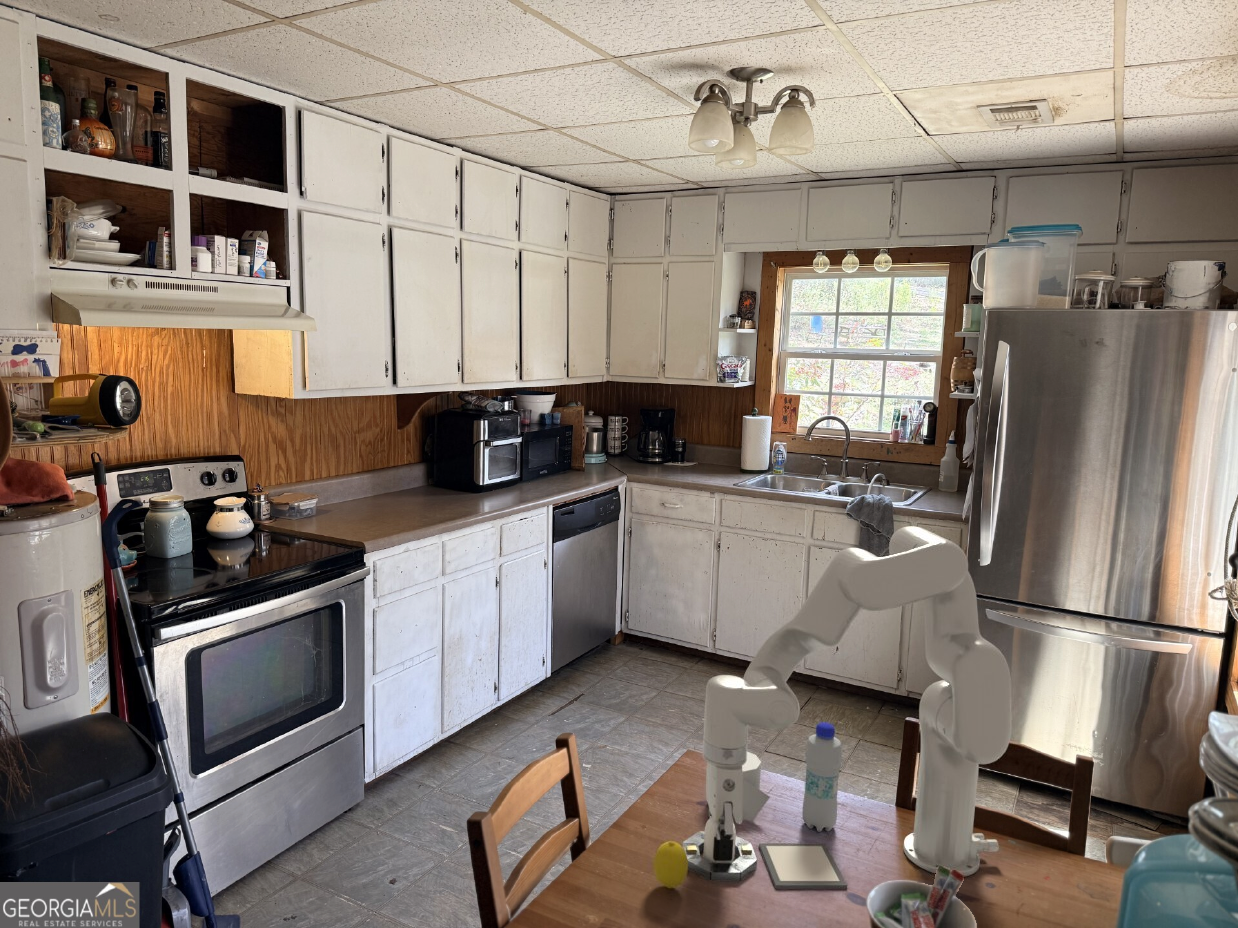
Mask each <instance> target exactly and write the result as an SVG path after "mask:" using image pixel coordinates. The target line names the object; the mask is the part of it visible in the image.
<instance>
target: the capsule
mask: <svg viewBox="0 0 1238 928" xmlns="http://www.w3.org/2000/svg"><path fill="white" fill-rule="evenodd" d="M719 819H724V817H722V816H721V818H719ZM722 829H724V824H720V831H721V830H722ZM704 831H705V834H704V851H703V855H702V857H703V858H705V859H707V860H709V861H711V862H713V863H732V862H734V861H735V855H736V854H735V839H736V836H737V831H736V826H735V824H734V822H733V854H732V860H731V861H715V860H714V859H713V848H714V837H716V822H714V820H713V818H712V817H710V819H709V820H708V819H707V821H706V823H705V827H704Z"/></svg>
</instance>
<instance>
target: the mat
mask: <svg viewBox="0 0 1238 928" xmlns="http://www.w3.org/2000/svg"><path fill="white" fill-rule="evenodd" d="M758 848H759V849H760V853H761V855H762V858H763V860H764V863H765V865H766V868H767V870H768V872H769V875H770V878H771V881H772V882H773V883H772V884H773V886H774V888H775V889H776V890H778V889H780V890H781V889H783V890H785V889H786V890H788V889H789V890H790V889H794V890H796V889H797V890H800V889H801V890H802V889H803V890H804V889H805V890H809V889H812V890H814V889H817V890H819V889H821V890H822V889H823V890H824V889H826V890H828V889H829V890H830V889H833V890H835V889H840V890H842V889H845V890H846V889H848V884H847V882H846V880H845V878H844V876H843V874H842V872H841V871H840V868H839V867H838V865H837V863H836V861H835V859H834V857H833V856H832V853H831V851H830V850H829V848H828V846H827V844H826V843H806V842H805V843H804V842H803V843H799V842H798V843H794V842H793V843H792V842H791V843H790V842H789V843H788V842H787V843H785V842H784V843H781V842H779V843H778V842H777V843H774V842H773V843H771V842H770V843H767V842H766V843H763V842H759V843H758Z"/></svg>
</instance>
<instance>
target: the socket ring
mask: <svg viewBox="0 0 1238 928" xmlns="http://www.w3.org/2000/svg"><path fill="white" fill-rule="evenodd" d="M704 834H705V830H703V831H702V830H700V831H697V832H696V833H694V834H693V835H691V836H690V837H688V838H686V839H685V840H684V841H682V844H681V846H682V847H683V848H684V850H685V852H686V855H687V860H688V870H687V871H690V872H692V873H693V874H696V875H697V876H699V877H701V878H703V879H704V880H706V881H708V882H712V883H713V882H716V883H717V882H721V883H722V882H725V883H727V882H737V883H738V882H742V881H743V880H745V878H747V877H748V876H750V875H751V874H752V873H753V872H754V871H756V870H757V866H758V858H757V856H756V853H755V850H754V847H753V845H752V843H751V842H750V841H748V840H747V839H743V838H742V837H740V836H738V835H736V839H735V855H736V856H737V858H736V859H734V862H732V863H713V862H711V861H709V860H707V859H705V858H703V855H701V853H702V852H704Z"/></svg>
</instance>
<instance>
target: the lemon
mask: <svg viewBox="0 0 1238 928" xmlns="http://www.w3.org/2000/svg"><path fill="white" fill-rule="evenodd" d="M653 871H654V875H655V877H656V879H657V881H658V882H659V883H660V884H661V885H662V886H664V887H666V888H668V889H673V888H675V887H678V886H680V885H681V884H683V882H684V881H685V879H686V878H687V875H688V871H689V870H688V860H687V855H686V852H685V850H684V848H683V847H682V844H680V843H678V842H676V841H673V840H670V841H666V842H664V843H662V844H661V845H660V846H659V847H658V849H657V850H656V851H655V855H654V859H653Z"/></svg>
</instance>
